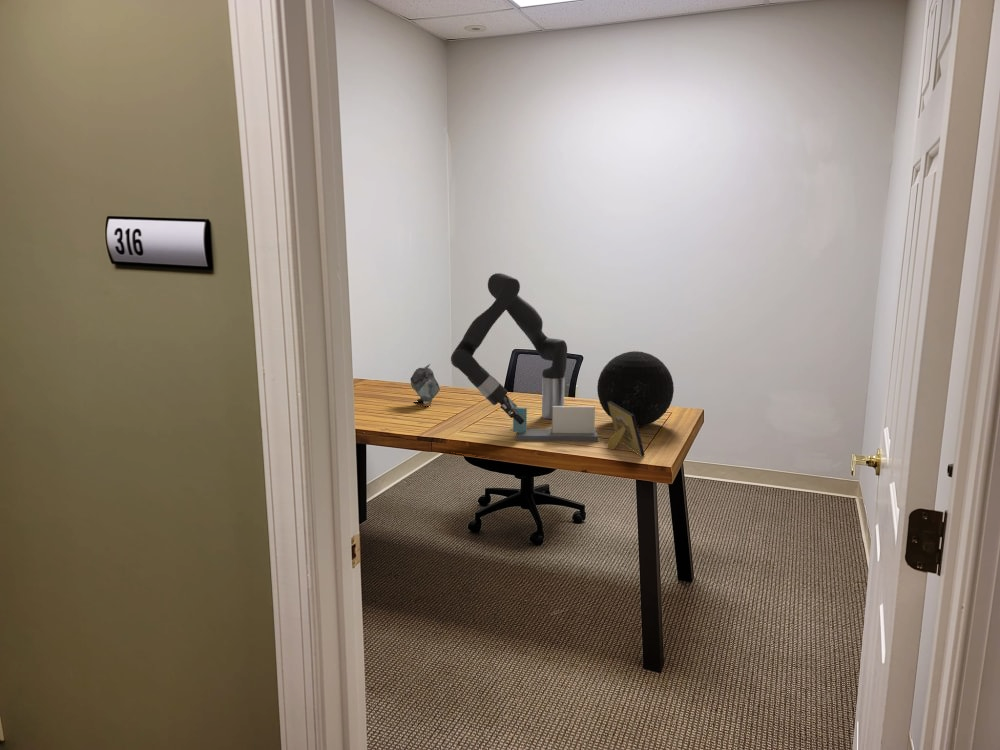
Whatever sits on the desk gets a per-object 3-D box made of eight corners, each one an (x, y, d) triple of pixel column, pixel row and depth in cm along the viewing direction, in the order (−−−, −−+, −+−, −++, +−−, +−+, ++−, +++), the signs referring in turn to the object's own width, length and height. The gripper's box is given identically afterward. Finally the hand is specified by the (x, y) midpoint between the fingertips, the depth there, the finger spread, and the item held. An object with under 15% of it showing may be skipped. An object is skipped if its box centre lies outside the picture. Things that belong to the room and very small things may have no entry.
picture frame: (645, 456, 240) (642, 413, 237) (620, 460, 239) (616, 418, 236) (620, 438, 262) (617, 399, 260) (597, 442, 261) (594, 403, 258)
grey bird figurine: (405, 408, 312) (404, 368, 309) (414, 401, 327) (413, 363, 324) (436, 409, 310) (435, 369, 307) (444, 402, 325) (443, 363, 322)
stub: (513, 430, 265) (513, 407, 263) (526, 431, 264) (526, 407, 263) (513, 431, 263) (513, 408, 262) (526, 431, 263) (526, 408, 262)
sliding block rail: (516, 433, 269) (517, 403, 267) (595, 434, 268) (596, 403, 266) (516, 440, 259) (516, 409, 257) (598, 441, 259) (599, 409, 256)
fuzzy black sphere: (682, 422, 287) (686, 350, 282) (655, 439, 262) (659, 359, 257) (614, 413, 303) (616, 344, 298) (583, 428, 278) (585, 353, 273)
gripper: (498, 386, 254) (530, 417, 256) (499, 379, 268) (529, 409, 270) (484, 400, 255) (515, 431, 257) (485, 393, 269) (515, 422, 271)
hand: (522, 420), depth 263 cm, fingers open, 8 cm apart
